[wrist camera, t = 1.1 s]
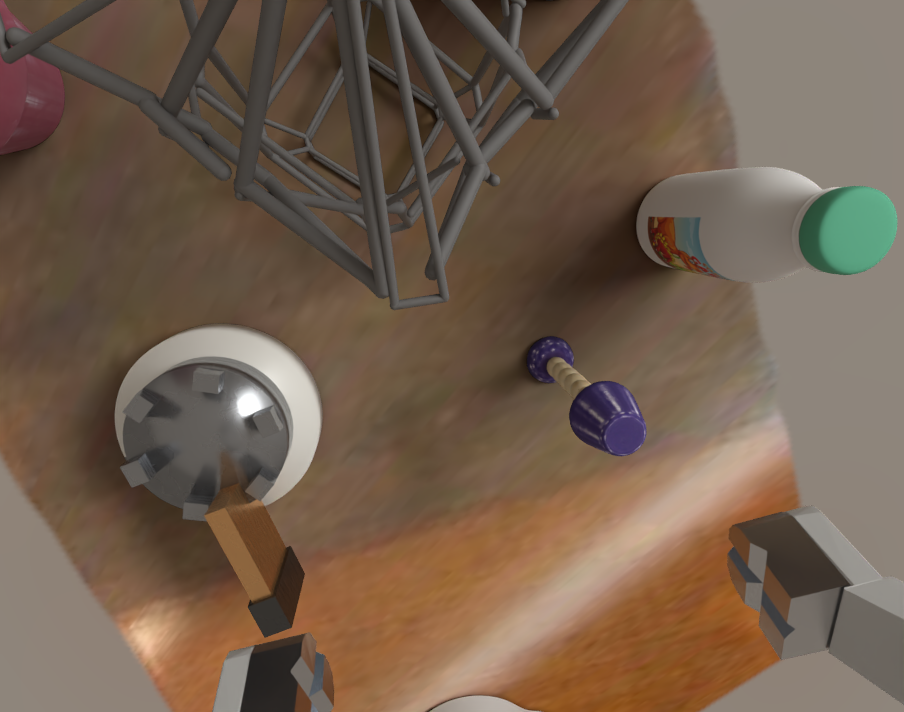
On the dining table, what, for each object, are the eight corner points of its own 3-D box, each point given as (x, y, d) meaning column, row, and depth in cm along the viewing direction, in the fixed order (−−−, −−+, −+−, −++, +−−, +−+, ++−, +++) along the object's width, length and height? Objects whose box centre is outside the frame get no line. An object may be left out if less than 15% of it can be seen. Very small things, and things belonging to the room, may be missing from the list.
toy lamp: (586, 349, 51) (674, 415, 35) (562, 395, 52) (638, 479, 36) (539, 328, 50) (607, 386, 34) (516, 375, 51) (572, 453, 35)
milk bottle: (631, 179, 48) (793, 162, 28) (720, 170, 48) (938, 145, 29) (634, 271, 50) (786, 313, 30) (718, 261, 50) (921, 295, 31)
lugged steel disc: (111, 388, 44) (60, 421, 38) (255, 334, 45) (229, 357, 38) (230, 598, 50) (204, 660, 43) (357, 550, 50) (351, 604, 43)
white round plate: (350, 459, 51) (348, 476, 48) (185, 522, 51) (172, 542, 48) (276, 295, 47) (268, 301, 44) (95, 363, 47) (74, 374, 44)
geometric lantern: (236, 152, 44) (-288, -82, 10) (348, -28, 42) (161, -1074, 8) (404, 270, 47) (430, 387, 14) (515, 107, 45) (875, -234, 11)
